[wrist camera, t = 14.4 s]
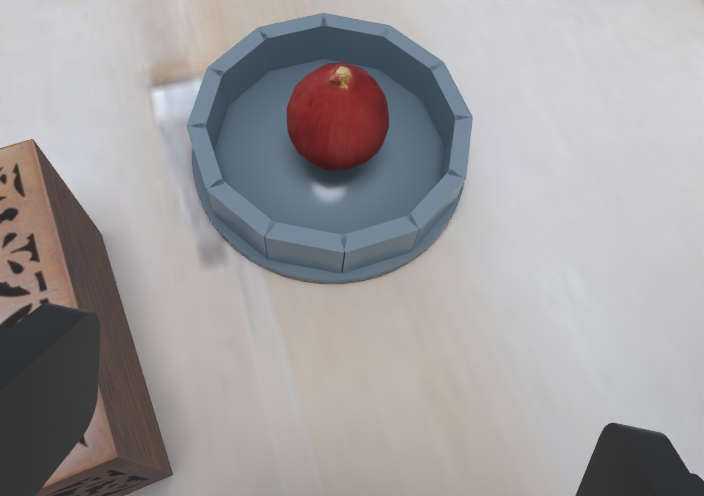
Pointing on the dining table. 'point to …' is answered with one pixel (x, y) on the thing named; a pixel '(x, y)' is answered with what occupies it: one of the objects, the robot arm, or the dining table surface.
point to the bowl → (319, 184)
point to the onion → (337, 117)
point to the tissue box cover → (86, 294)
